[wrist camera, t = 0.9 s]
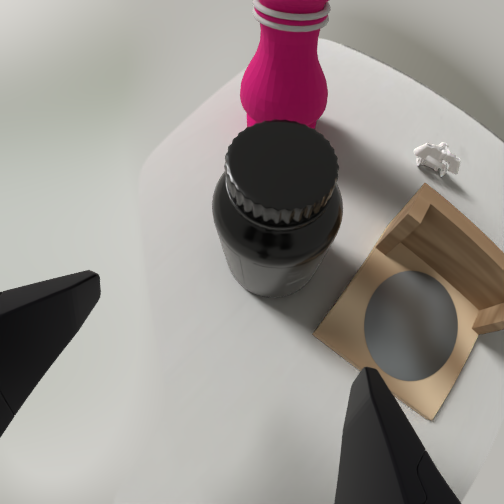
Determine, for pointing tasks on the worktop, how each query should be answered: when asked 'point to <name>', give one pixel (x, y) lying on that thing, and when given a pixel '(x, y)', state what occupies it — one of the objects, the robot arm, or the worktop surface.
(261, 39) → the pepper mill
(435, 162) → the clip
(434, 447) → the worktop surface
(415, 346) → the holder
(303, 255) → the supplement bottle
